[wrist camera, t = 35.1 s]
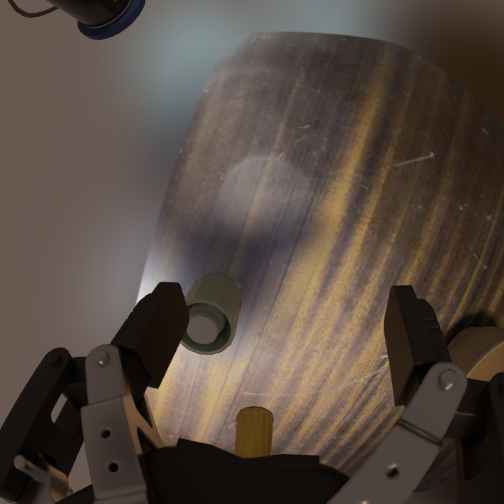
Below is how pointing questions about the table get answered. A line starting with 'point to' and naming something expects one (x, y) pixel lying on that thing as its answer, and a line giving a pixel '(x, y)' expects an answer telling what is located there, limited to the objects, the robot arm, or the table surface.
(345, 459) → the table surface
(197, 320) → the pill bottle
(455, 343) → the planter bowl
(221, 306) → the cup
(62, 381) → the robot arm
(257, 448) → the vase
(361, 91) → the table surface
